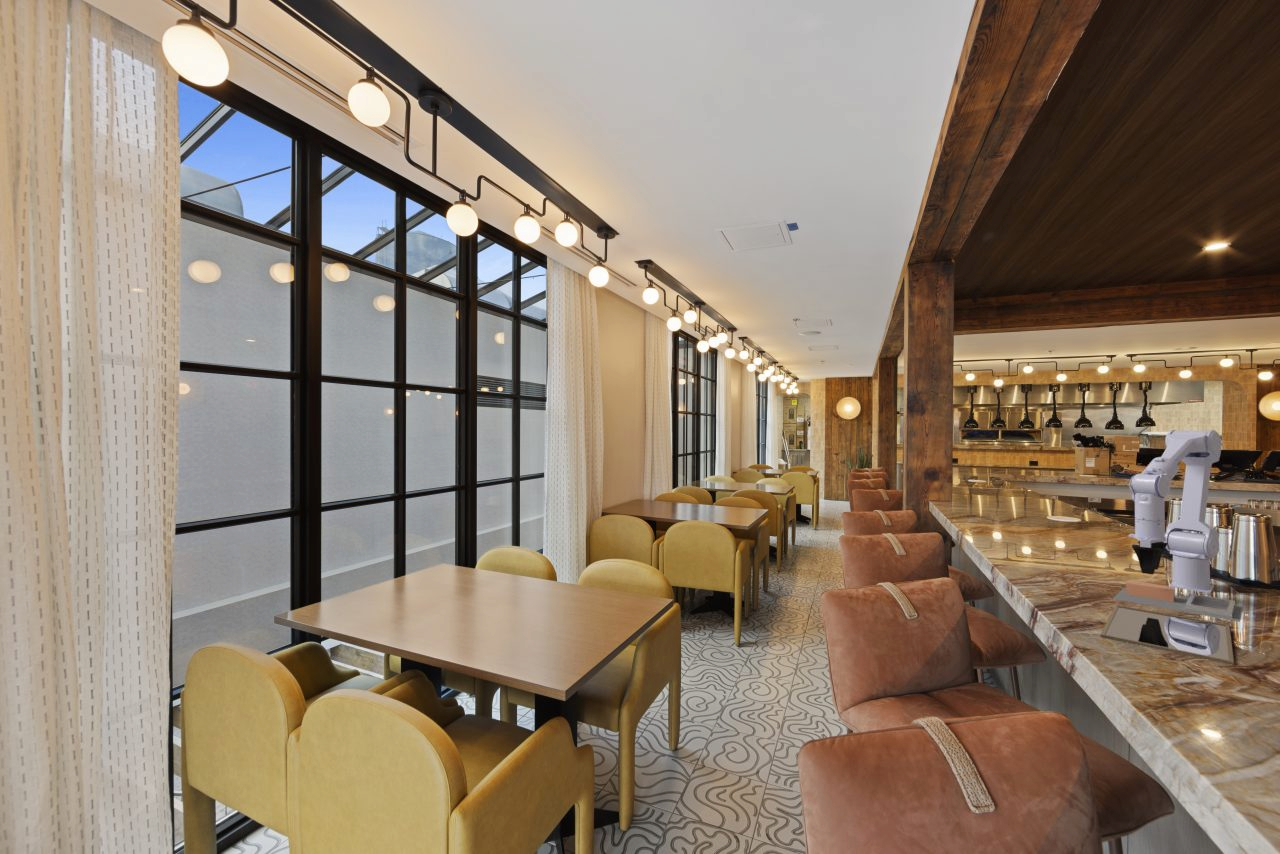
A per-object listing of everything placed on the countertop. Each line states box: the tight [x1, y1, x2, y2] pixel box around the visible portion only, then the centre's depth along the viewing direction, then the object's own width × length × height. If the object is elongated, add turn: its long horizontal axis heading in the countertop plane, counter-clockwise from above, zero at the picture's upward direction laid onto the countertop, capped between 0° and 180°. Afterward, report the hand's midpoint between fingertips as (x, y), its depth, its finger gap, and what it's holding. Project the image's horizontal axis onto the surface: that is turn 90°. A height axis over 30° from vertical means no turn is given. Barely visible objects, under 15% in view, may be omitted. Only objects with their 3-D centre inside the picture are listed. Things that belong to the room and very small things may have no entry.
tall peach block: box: [1125, 579, 1176, 602], centre depth 141 cm, size 4×9×3 cm, turn 40°
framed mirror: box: [1100, 604, 1235, 666], centre depth 118 cm, size 19×1×28 cm
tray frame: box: [1186, 593, 1236, 618], centre depth 132 cm, size 13×8×2 cm, turn 130°
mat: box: [1112, 586, 1244, 623], centre depth 136 cm, size 16×22×1 cm
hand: (1150, 571), depth 142 cm, fingers open, 7 cm apart
